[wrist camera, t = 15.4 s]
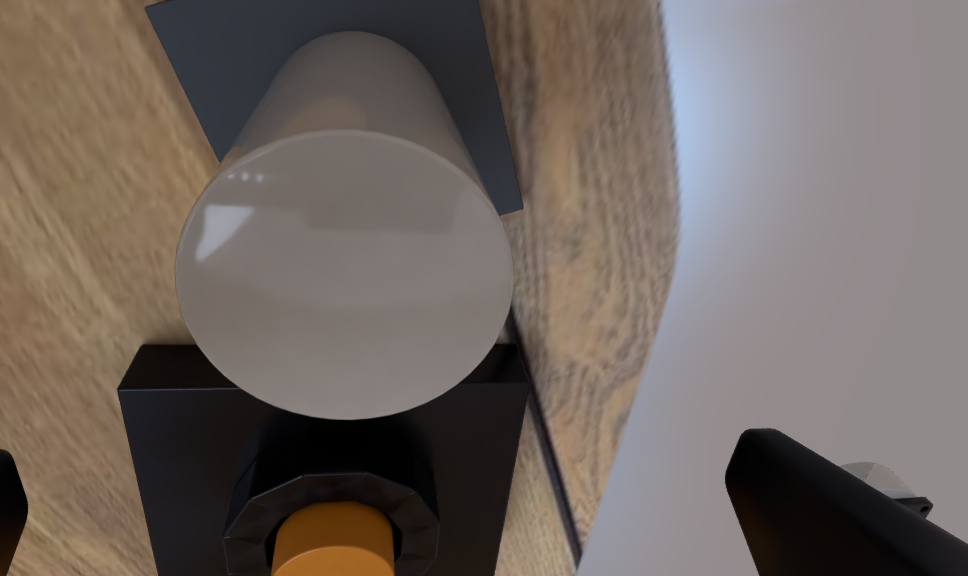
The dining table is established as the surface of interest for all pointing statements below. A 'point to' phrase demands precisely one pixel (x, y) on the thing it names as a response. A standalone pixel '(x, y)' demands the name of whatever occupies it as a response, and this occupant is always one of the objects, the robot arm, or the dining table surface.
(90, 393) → the dining table surface
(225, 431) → the base
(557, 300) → the dining table surface
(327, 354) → the canister
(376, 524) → the button
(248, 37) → the mat
